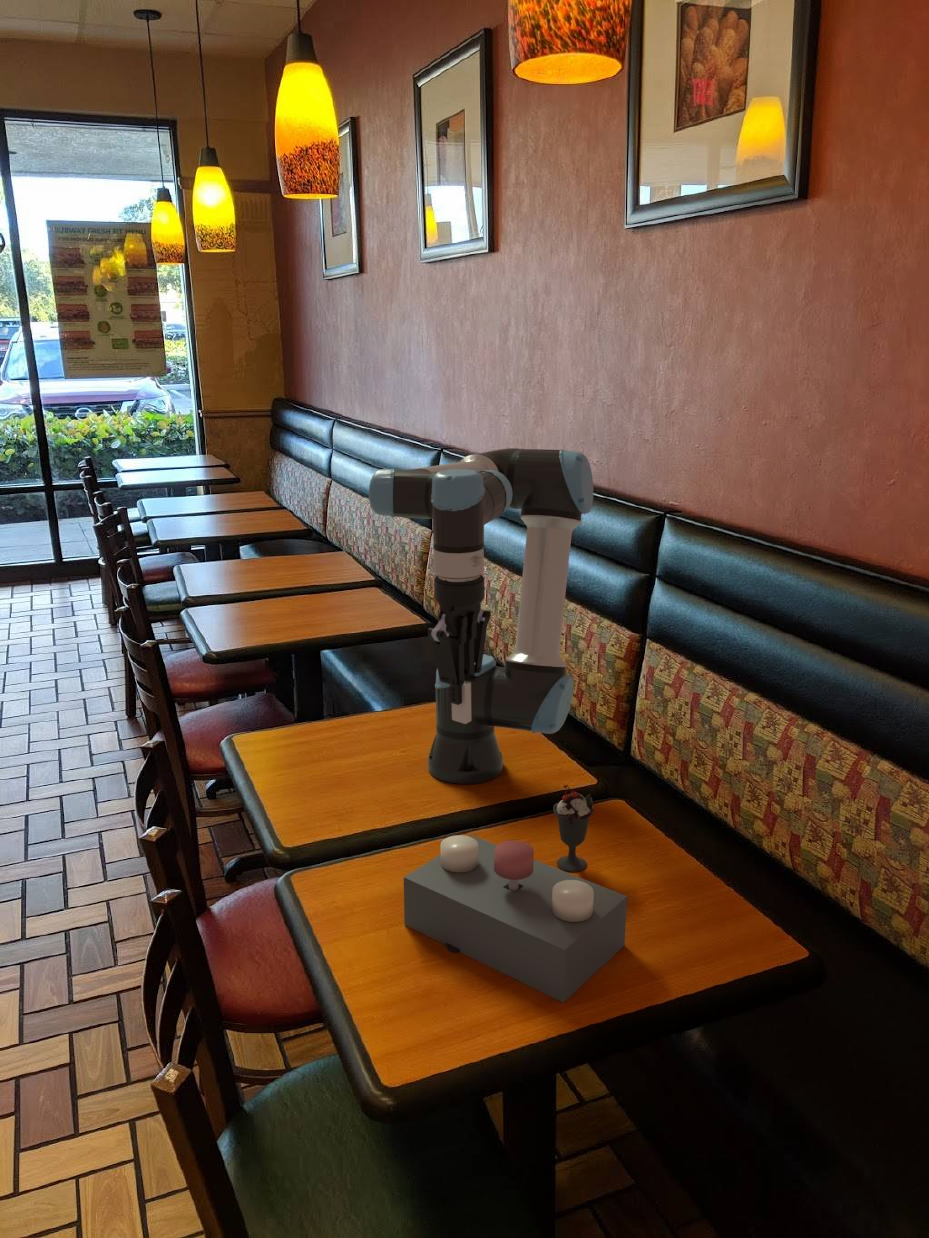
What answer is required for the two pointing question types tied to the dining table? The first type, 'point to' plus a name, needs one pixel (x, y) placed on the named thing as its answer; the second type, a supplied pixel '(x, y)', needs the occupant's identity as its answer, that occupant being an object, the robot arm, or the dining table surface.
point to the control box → (515, 922)
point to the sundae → (573, 827)
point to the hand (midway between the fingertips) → (461, 720)
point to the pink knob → (513, 861)
